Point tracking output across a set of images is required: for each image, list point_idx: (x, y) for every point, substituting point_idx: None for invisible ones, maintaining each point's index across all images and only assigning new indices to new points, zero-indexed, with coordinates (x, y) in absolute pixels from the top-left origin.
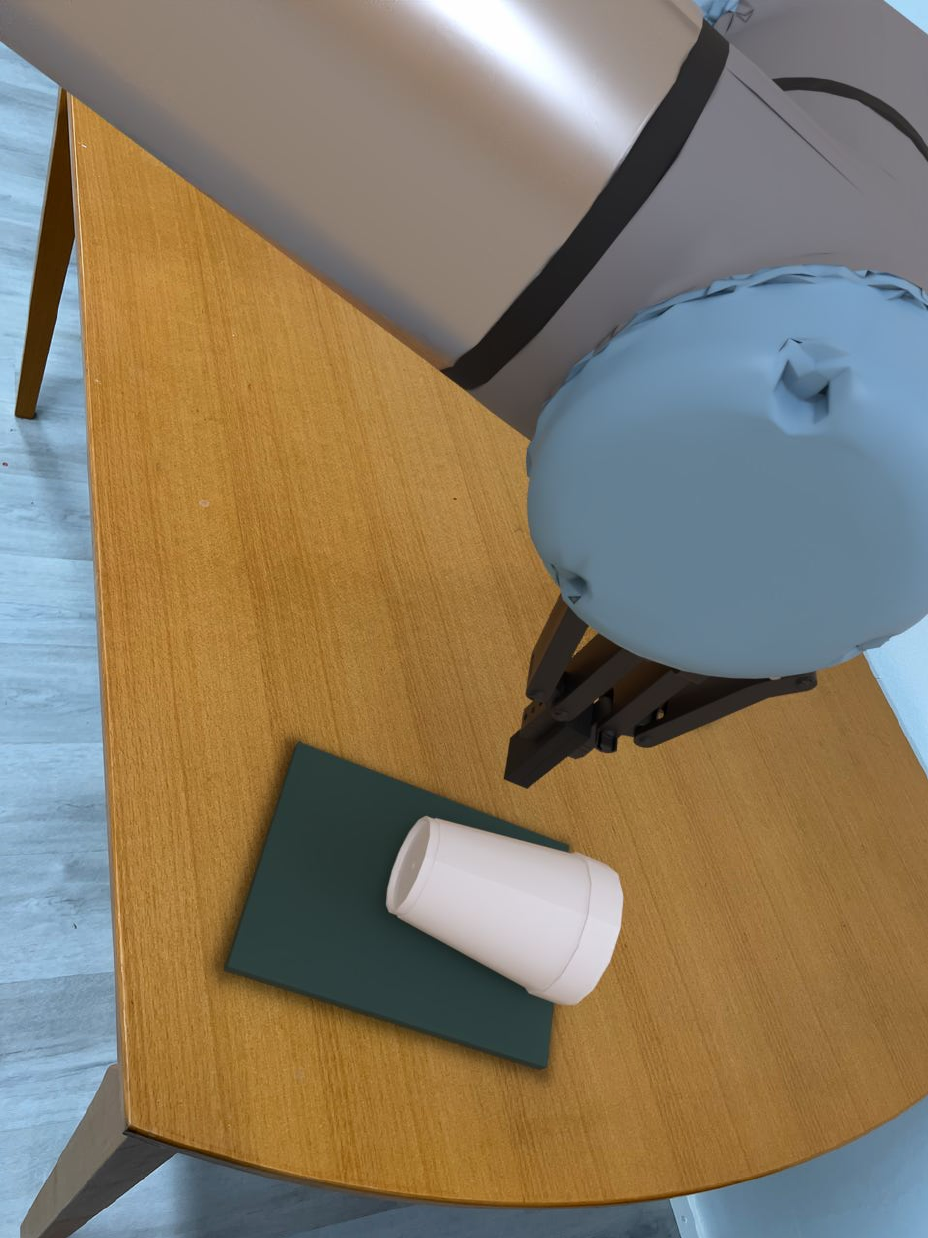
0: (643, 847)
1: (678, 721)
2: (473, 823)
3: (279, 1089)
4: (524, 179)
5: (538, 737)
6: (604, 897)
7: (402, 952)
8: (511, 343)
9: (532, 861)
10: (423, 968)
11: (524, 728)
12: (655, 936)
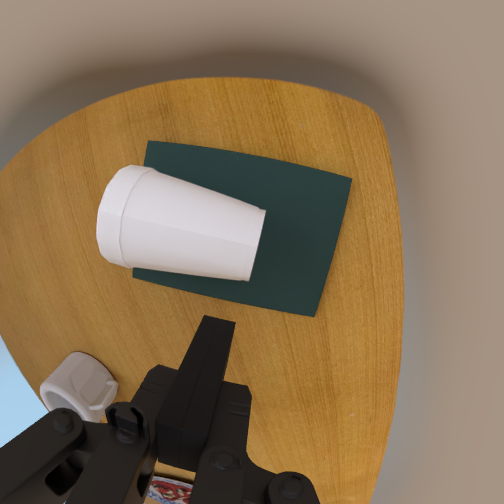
0: (91, 281)
1: (17, 475)
2: (195, 284)
3: (312, 118)
4: None
5: (223, 391)
6: (109, 232)
7: (243, 194)
8: None
9: (165, 254)
10: (228, 186)
11: (249, 402)
12: (83, 230)
